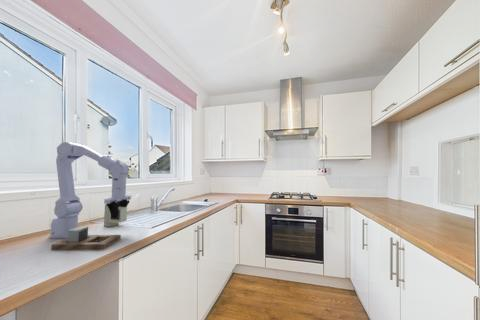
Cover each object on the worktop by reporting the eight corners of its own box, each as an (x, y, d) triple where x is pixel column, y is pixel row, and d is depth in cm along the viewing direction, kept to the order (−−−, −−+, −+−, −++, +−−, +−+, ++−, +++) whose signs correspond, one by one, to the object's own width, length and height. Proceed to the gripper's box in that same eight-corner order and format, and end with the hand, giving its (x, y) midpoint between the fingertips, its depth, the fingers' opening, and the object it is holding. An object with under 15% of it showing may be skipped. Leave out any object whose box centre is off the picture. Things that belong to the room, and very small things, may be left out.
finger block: (120, 222, 95) (120, 208, 95) (108, 222, 96) (109, 208, 96) (126, 220, 99) (126, 207, 99) (115, 220, 100) (115, 206, 100)
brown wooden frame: (51, 249, 80) (51, 244, 80) (75, 239, 92) (75, 234, 92) (103, 249, 80) (104, 244, 80) (120, 239, 92) (120, 234, 92)
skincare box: (110, 227, 112) (111, 204, 113) (103, 226, 113) (104, 204, 114) (119, 224, 118) (119, 202, 119) (112, 223, 119) (113, 202, 120)
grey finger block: (67, 246, 83) (68, 230, 83) (78, 241, 89) (79, 226, 89) (77, 246, 83) (78, 230, 83) (88, 241, 89) (88, 226, 89)
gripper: (114, 189, 90) (113, 220, 90) (136, 187, 105) (135, 214, 104) (100, 189, 92) (99, 219, 91) (124, 186, 106) (123, 213, 105)
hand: (117, 216), depth 98 cm, fingers closed on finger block, 4 cm apart
